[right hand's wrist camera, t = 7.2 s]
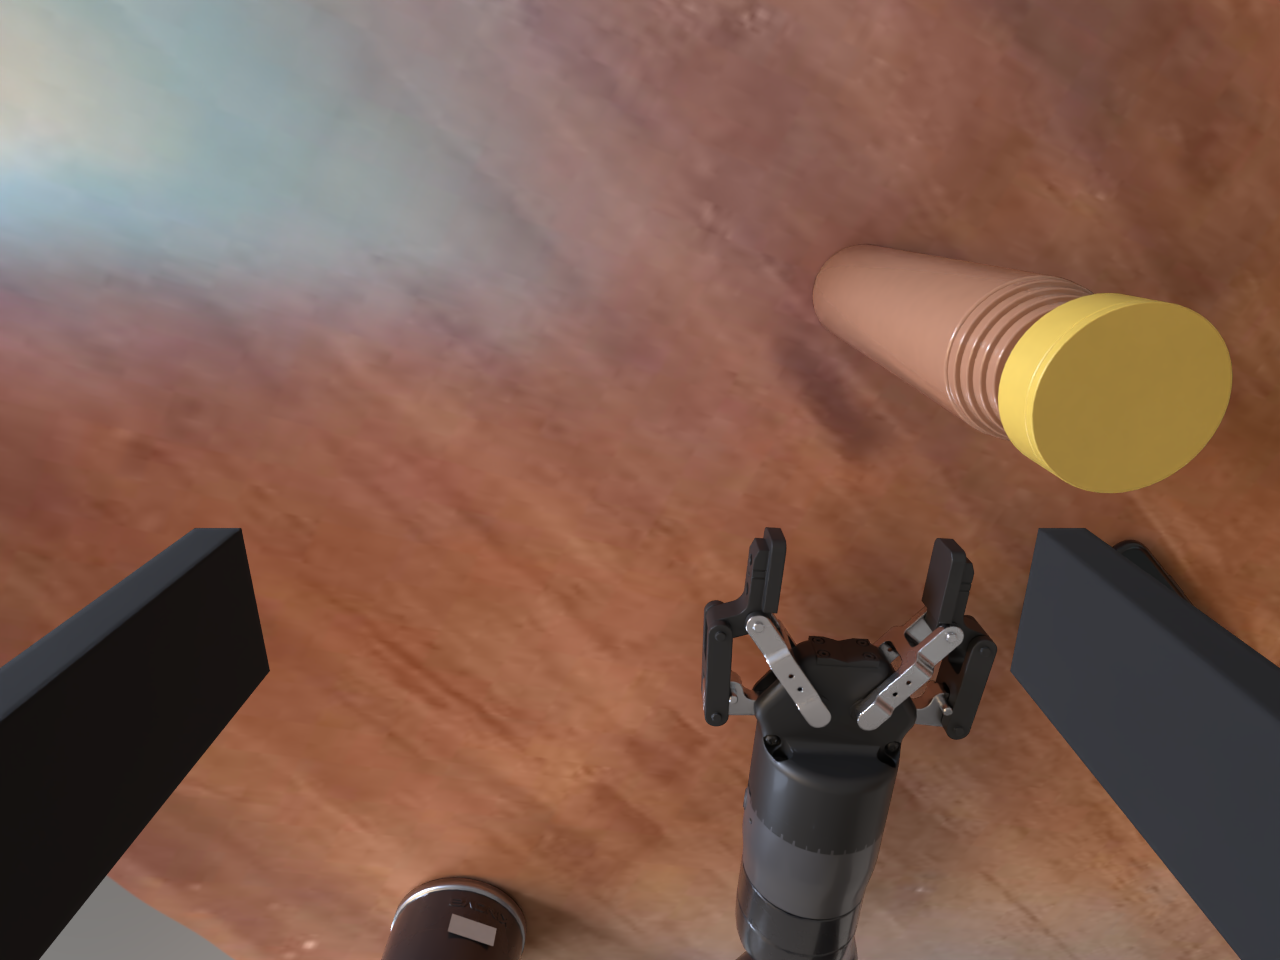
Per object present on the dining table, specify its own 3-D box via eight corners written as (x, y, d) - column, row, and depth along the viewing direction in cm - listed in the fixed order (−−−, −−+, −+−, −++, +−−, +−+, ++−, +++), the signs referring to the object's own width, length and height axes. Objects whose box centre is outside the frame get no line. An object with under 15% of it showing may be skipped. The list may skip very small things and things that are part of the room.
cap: (1020, 494, 20) (1055, 521, 18) (977, 338, 18) (1010, 351, 17) (1193, 429, 19) (1246, 450, 18) (1163, 261, 18) (1217, 267, 16)
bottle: (829, 354, 39) (1042, 521, 19) (799, 268, 38) (995, 344, 17) (917, 317, 39) (1240, 448, 18) (890, 228, 37) (1209, 257, 16)
